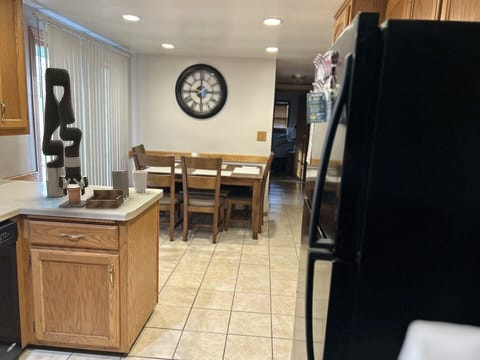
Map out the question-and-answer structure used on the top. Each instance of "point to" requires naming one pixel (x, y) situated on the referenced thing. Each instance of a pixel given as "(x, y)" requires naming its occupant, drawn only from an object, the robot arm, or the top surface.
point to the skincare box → (120, 181)
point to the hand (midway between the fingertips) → (74, 195)
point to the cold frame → (105, 199)
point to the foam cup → (140, 180)
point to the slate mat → (67, 205)
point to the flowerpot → (74, 194)
